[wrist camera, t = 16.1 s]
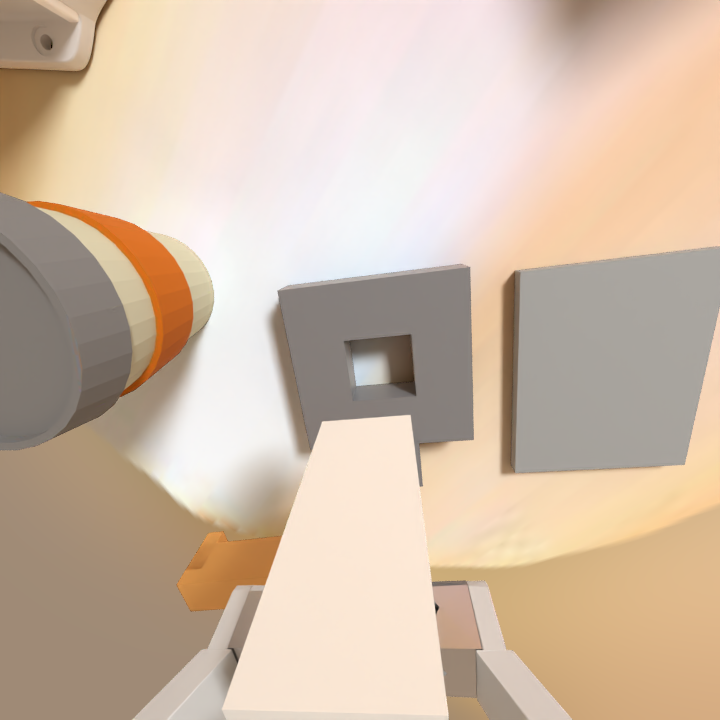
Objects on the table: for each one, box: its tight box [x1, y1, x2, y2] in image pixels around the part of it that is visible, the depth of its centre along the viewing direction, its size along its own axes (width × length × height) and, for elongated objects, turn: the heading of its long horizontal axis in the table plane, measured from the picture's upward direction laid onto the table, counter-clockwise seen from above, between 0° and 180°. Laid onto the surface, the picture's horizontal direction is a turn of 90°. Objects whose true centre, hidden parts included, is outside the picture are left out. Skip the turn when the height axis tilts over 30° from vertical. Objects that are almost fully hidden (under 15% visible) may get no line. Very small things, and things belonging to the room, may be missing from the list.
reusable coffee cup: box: [0, 193, 214, 450], centre depth 22 cm, size 13×12×15 cm
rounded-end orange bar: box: [177, 531, 282, 611], centre depth 22 cm, size 3×15×4 cm, turn 103°
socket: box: [278, 264, 474, 487], centre depth 25 cm, size 14×18×10 cm
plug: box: [222, 415, 449, 720], centre depth 11 cm, size 4×4×10 cm
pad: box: [511, 247, 720, 473], centre depth 28 cm, size 14×18×1 cm
